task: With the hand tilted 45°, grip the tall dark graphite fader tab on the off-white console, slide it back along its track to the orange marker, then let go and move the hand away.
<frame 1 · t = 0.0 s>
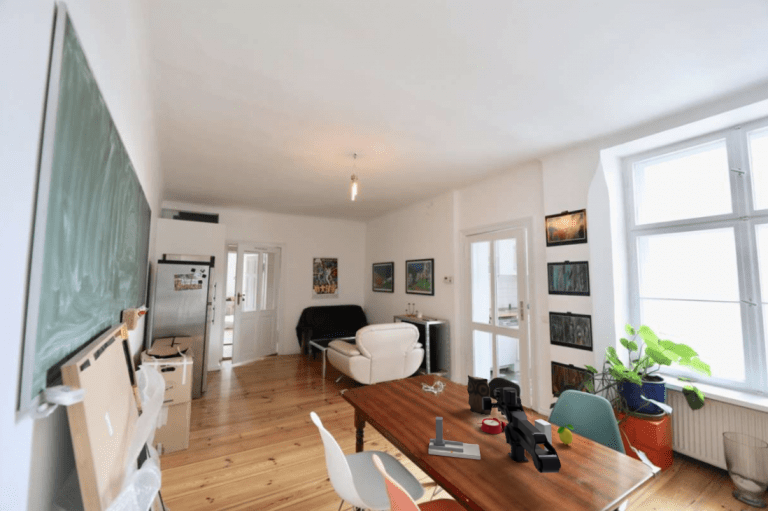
hand: (495, 397, 169), 17 cm above the table, tool horizontal, fingers open, 9 cm apart
owl: (482, 411, 194), on the table
skincare box: (543, 449, 150), on the table
fader tab: (439, 431, 150), point 8 cm above the table, slide at 3.5 cm
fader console: (447, 450, 148), on the table
lemon: (566, 445, 154), on the table
fork: (520, 426, 175), on the table
alarm clock: (493, 429, 170), on the table
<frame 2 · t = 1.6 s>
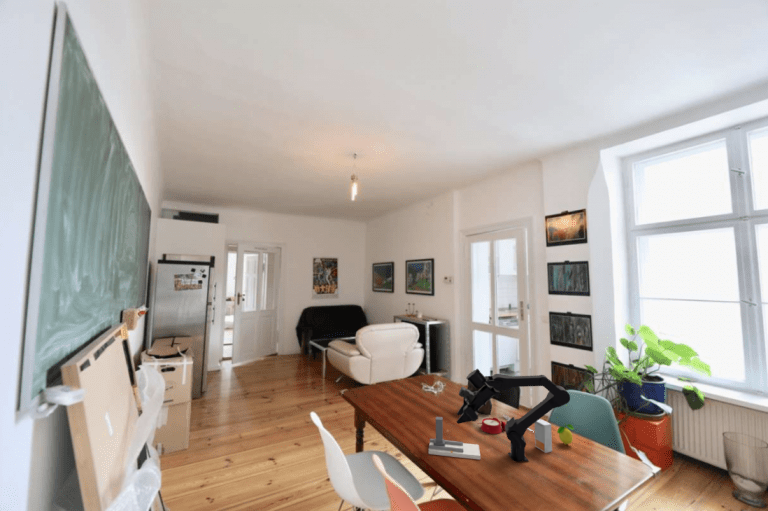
hand: (457, 418, 149), 14 cm above the table, tool tilted 45°, fingers open, 9 cm apart
nothing on the table moved.
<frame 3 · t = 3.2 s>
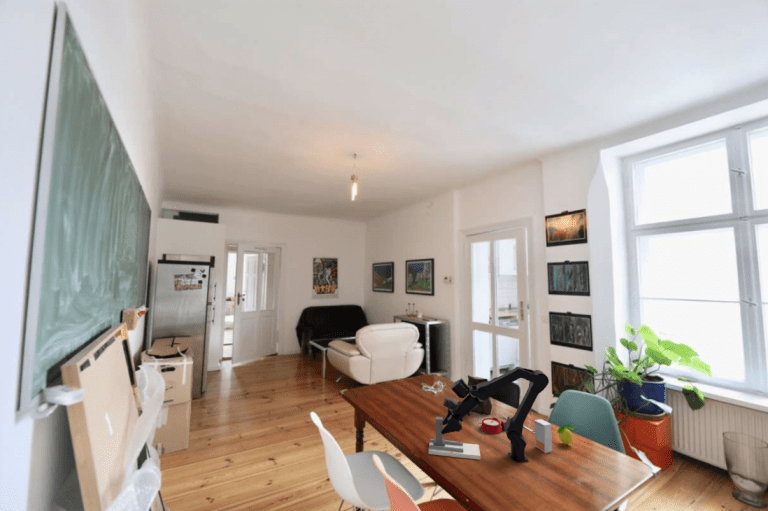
hand: (441, 428, 150), 9 cm above the table, tool tilted 45°, fingers open, 9 cm apart
nothing on the table moved.
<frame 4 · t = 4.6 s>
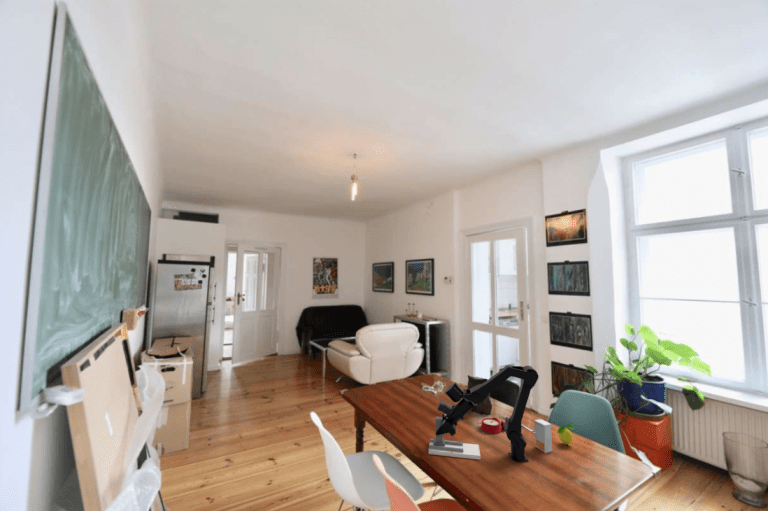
hand: (436, 432, 150), 7 cm above the table, tool tilted 45°, fingers closed on fader tab, 3 cm apart
fader tab: (439, 431, 150), point 8 cm above the table, slide at 3.5 cm, touching gripper
everything else where it was.
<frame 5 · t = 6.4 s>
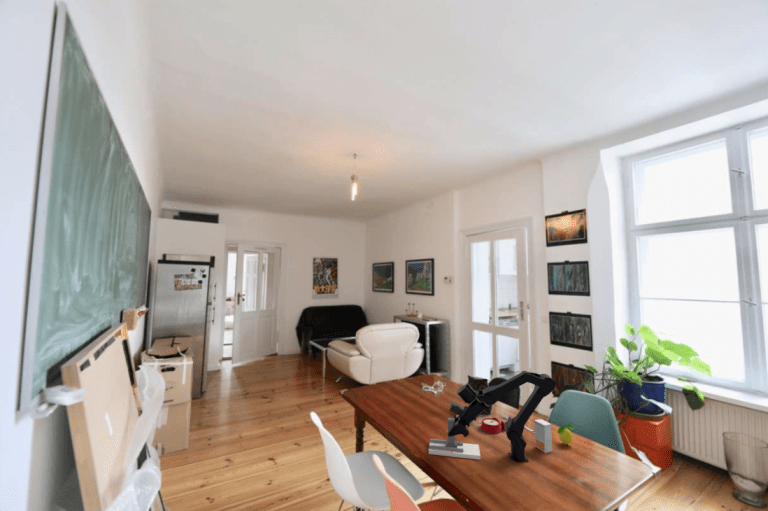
hand: (448, 434, 149), 7 cm above the table, tool tilted 45°, fingers closed on fader tab, 3 cm apart
fader tab: (451, 433, 149), point 8 cm above the table, slide at -1.9 cm, touching gripper
everything else where it was.
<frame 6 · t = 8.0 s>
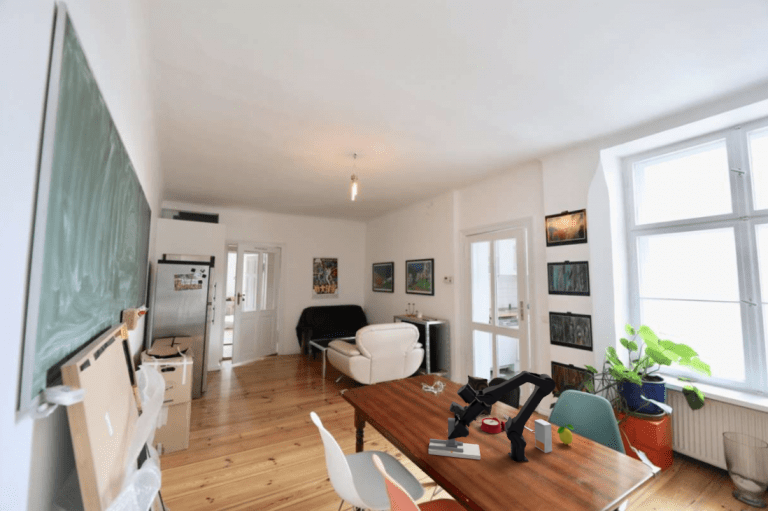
hand: (448, 434, 149), 7 cm above the table, tool tilted 45°, fingers open, 9 cm apart
fader tab: (451, 433, 149), point 8 cm above the table, slide at -2.0 cm
everything else where it was.
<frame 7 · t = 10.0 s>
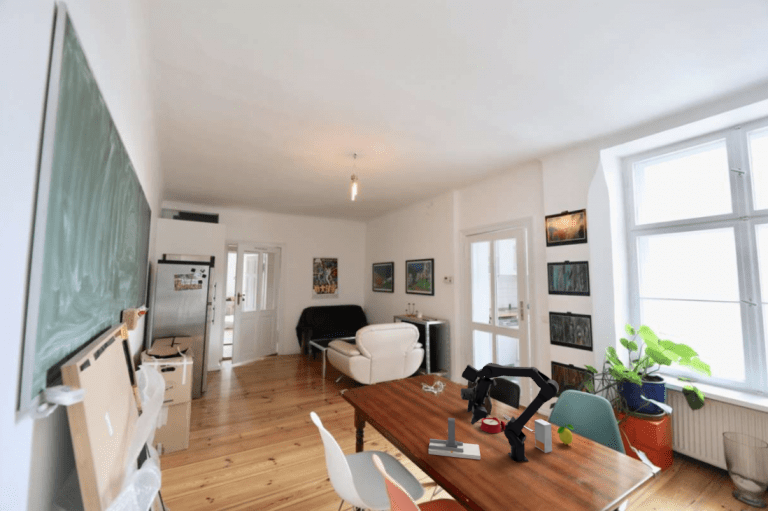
hand: (469, 417, 155), 12 cm above the table, tool tilted 25°, fingers open, 9 cm apart
nothing on the table moved.
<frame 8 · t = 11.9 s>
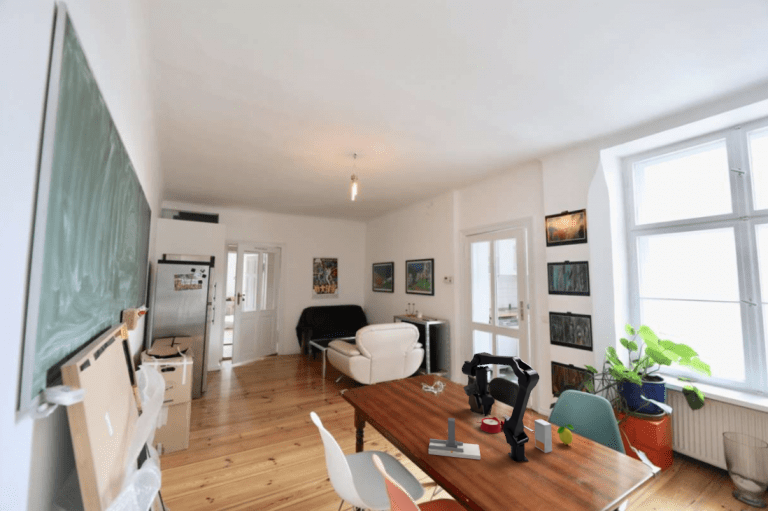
hand: (482, 412, 159), 13 cm above the table, tool pointing down, fingers open, 9 cm apart
nothing on the table moved.
at the end: fader tab slide at -2.0 cm; the gripper is holding nothing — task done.
